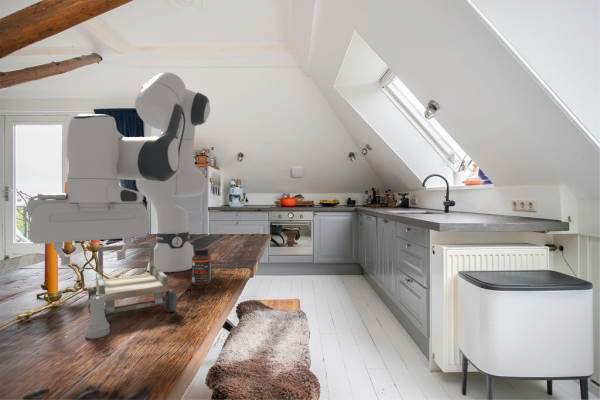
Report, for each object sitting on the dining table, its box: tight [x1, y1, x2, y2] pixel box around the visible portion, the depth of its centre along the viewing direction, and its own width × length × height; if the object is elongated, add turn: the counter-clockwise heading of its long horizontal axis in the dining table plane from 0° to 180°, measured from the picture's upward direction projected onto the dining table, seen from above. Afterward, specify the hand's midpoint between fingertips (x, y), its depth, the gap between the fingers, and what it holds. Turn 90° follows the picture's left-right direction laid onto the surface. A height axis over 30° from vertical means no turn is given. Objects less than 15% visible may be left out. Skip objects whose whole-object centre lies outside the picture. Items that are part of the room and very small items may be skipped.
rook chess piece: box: [84, 294, 111, 340], centre depth 65 cm, size 4×4×8 cm
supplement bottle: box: [191, 247, 212, 287], centre depth 104 cm, size 6×6×11 cm
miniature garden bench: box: [87, 242, 178, 316], centre depth 80 cm, size 19×17×15 cm
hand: (94, 262), depth 65 cm, fingers open, 8 cm apart
